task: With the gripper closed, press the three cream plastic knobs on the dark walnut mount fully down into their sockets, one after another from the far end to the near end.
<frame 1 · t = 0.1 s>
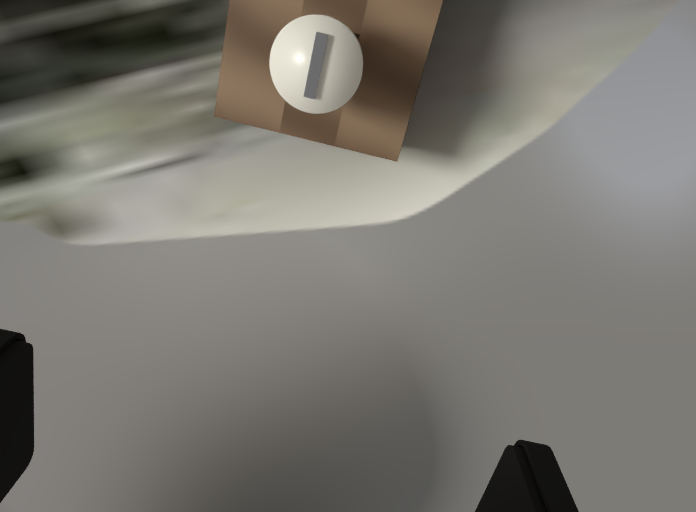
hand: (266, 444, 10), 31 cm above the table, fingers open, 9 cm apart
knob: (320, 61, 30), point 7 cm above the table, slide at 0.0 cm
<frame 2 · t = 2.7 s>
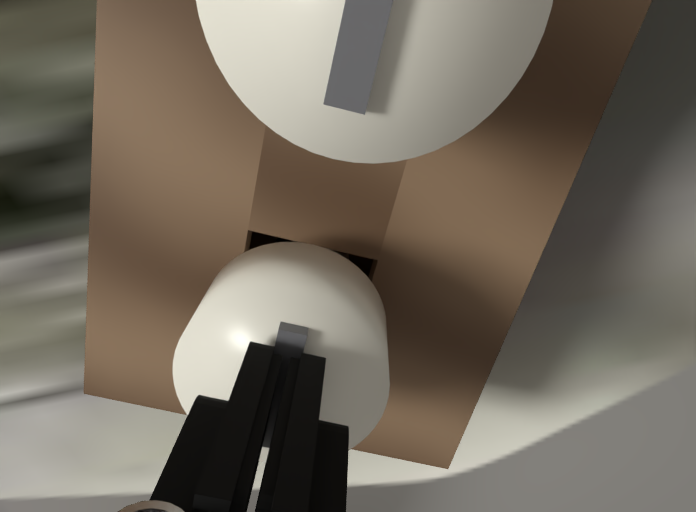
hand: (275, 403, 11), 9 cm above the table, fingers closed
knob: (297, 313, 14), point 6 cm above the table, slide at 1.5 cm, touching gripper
knob mount: (370, 1, 16), on the table
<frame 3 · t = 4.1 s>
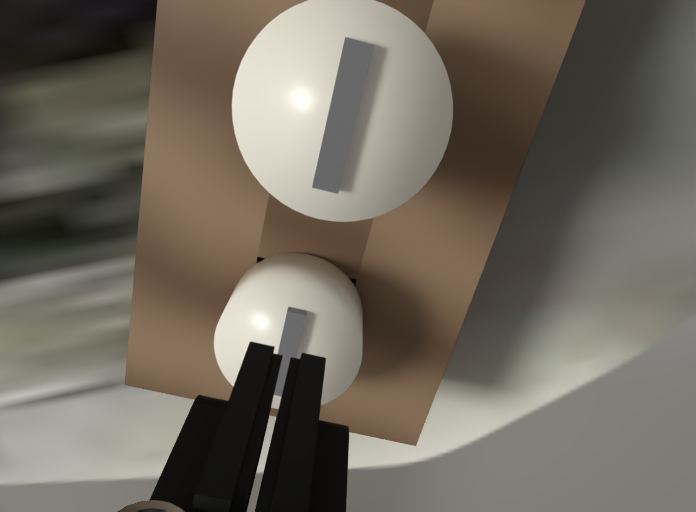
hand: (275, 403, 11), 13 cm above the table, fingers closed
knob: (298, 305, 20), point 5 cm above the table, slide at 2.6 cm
knob mount: (352, 76, 21), on the table
knob middle: (346, 99, 14), point 7 cm above the table, slide at 0.0 cm
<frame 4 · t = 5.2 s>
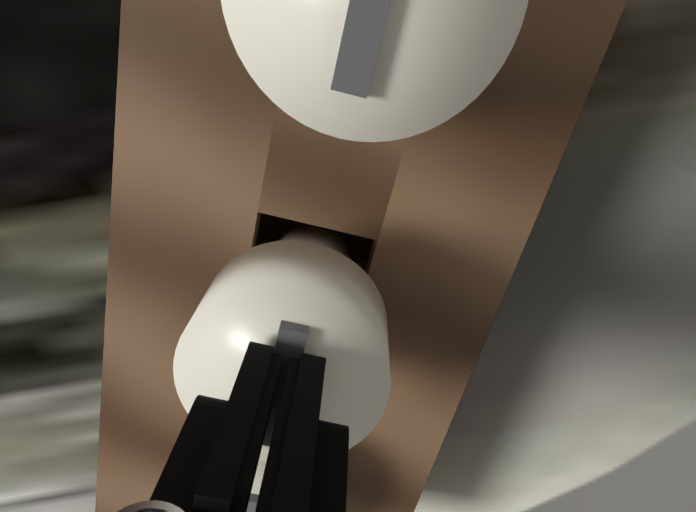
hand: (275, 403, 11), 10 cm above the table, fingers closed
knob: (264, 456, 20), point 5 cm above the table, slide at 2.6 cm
knob mount: (319, 220, 21), on the table
knob middle: (298, 311, 14), point 7 cm above the table, slide at 0.2 cm, touching gripper
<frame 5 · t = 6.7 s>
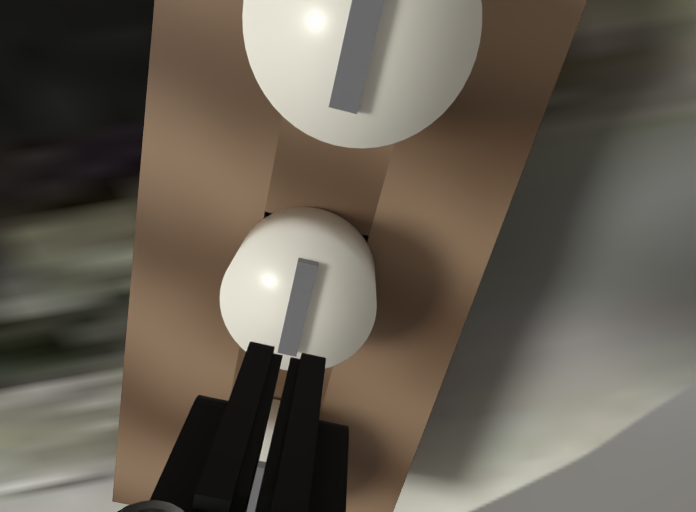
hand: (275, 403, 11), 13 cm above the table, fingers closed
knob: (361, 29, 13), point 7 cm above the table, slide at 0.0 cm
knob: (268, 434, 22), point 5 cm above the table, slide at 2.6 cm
knob mount: (317, 222, 23), on the table
knob middle: (307, 265, 19), point 5 cm above the table, slide at 2.6 cm
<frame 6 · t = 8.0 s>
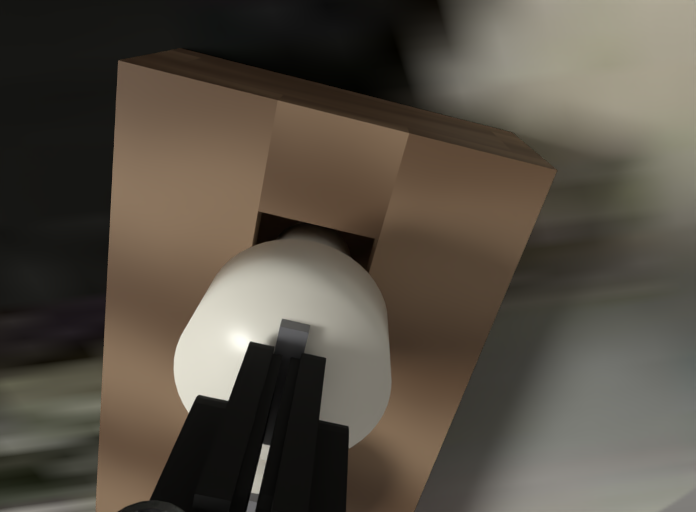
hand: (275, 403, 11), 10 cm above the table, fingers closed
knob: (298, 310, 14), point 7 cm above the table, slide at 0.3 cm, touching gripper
knob mount: (282, 380, 24), on the table
knob middle: (265, 456, 20), point 5 cm above the table, slide at 2.6 cm
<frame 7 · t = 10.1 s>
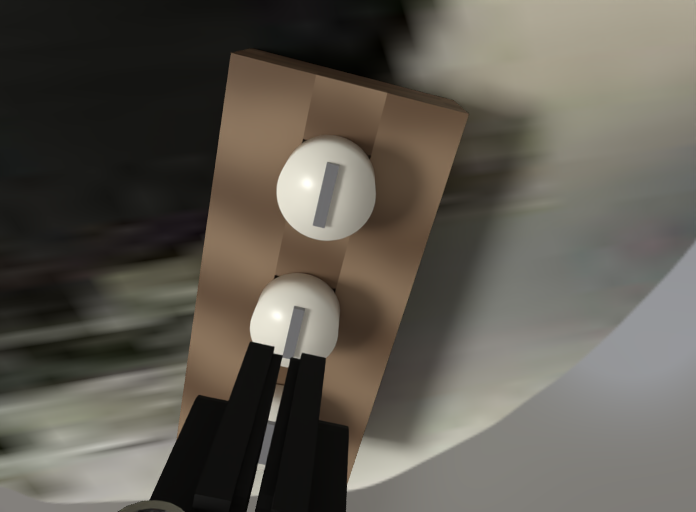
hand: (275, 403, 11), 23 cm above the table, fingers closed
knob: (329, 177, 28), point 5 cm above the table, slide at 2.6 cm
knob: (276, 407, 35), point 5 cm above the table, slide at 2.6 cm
knob mount: (307, 271, 36), on the table
knob middle: (300, 304, 32), point 5 cm above the table, slide at 2.6 cm
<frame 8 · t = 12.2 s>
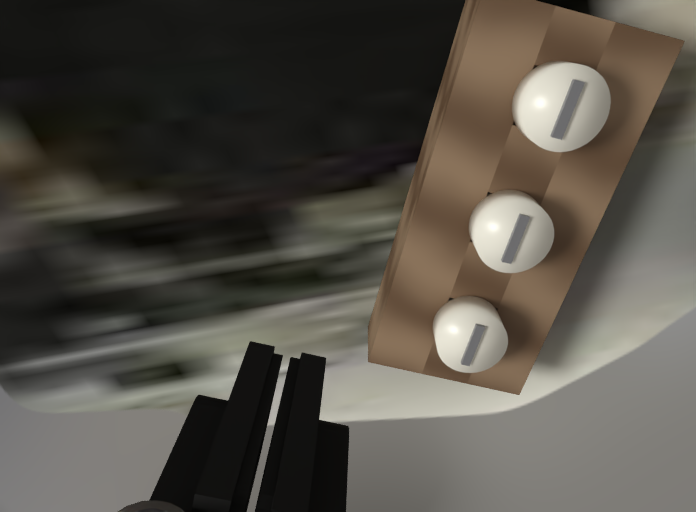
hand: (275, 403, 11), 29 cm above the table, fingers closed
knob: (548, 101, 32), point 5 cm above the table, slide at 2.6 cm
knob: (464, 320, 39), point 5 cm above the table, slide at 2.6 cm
knob mount: (488, 200, 40), on the table
knob middle: (502, 221, 35), point 5 cm above the table, slide at 2.6 cm
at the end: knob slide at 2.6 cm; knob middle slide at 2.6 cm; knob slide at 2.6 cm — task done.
